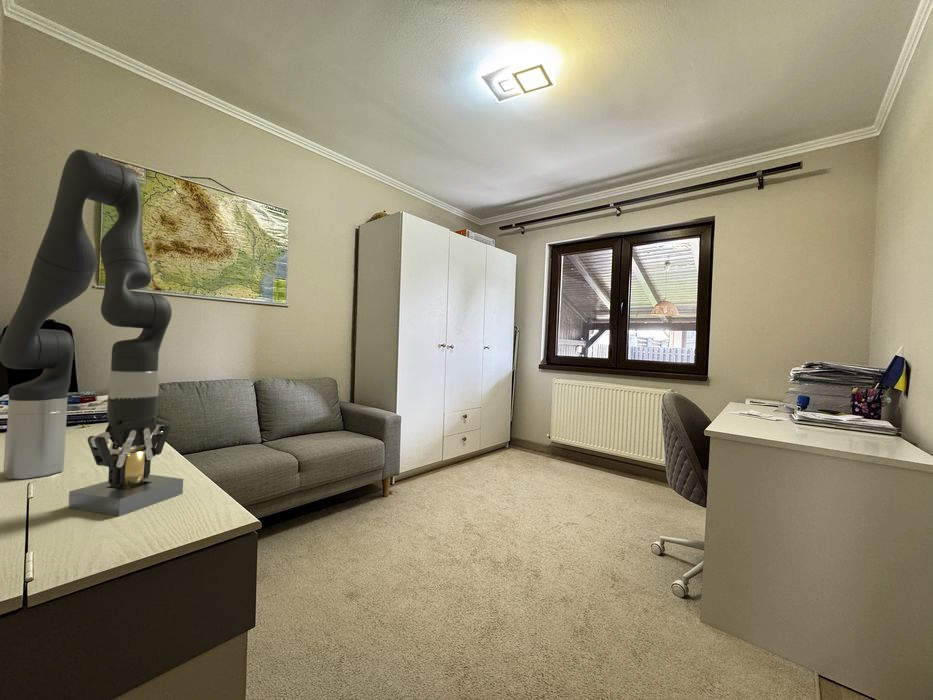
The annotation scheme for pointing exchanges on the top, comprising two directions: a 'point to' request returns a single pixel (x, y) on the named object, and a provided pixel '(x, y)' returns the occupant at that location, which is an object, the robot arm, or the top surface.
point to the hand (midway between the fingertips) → (129, 482)
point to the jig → (124, 495)
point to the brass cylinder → (133, 469)
